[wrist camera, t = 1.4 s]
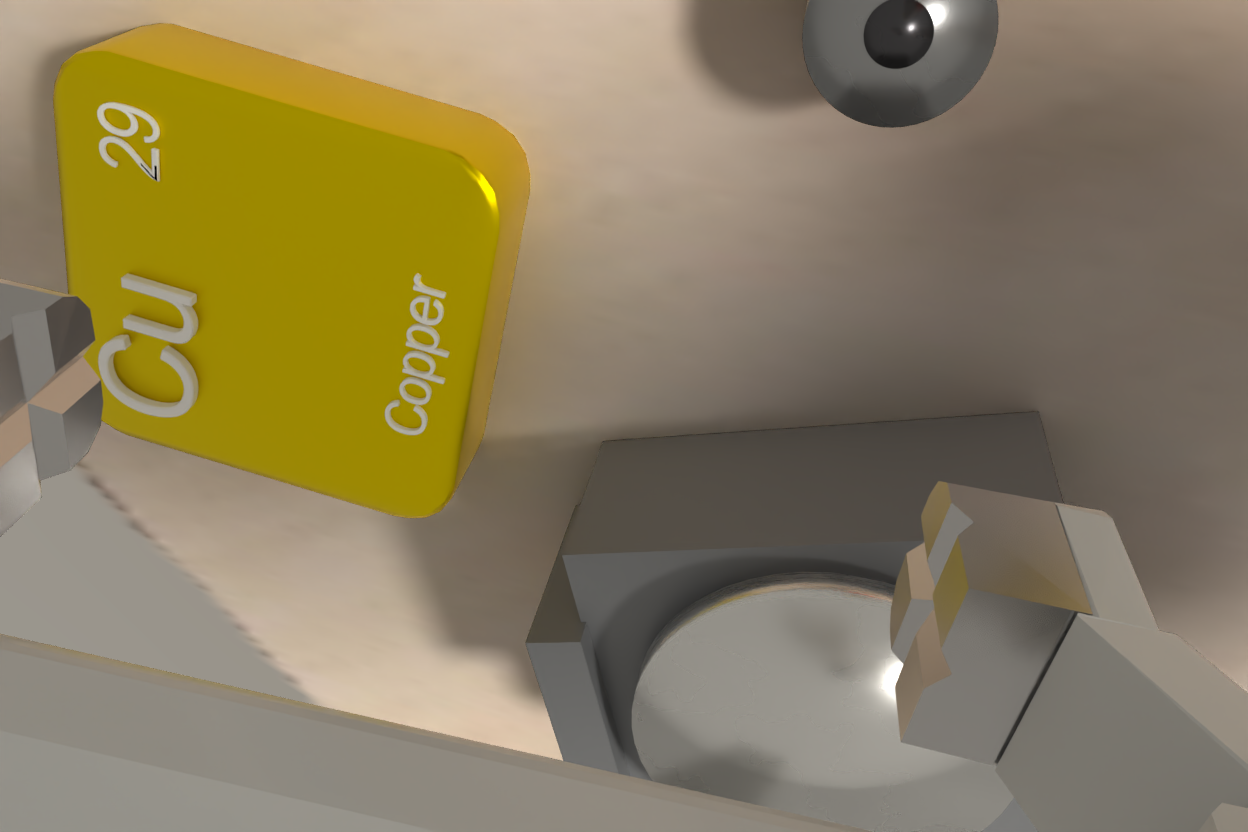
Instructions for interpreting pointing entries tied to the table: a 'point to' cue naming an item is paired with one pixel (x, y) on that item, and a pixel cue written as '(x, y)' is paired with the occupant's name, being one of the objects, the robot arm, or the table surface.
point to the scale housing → (743, 543)
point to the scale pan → (799, 710)
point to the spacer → (897, 55)
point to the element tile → (288, 262)
